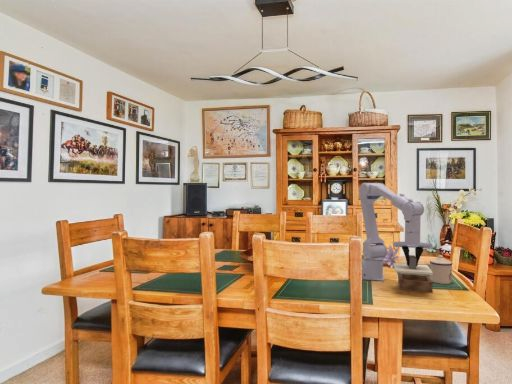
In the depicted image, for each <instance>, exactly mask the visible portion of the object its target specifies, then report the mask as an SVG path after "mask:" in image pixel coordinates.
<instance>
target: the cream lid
mask: <svg viewBox="0 0 512 384" xmlns="http://www.w3.org/2000/svg"><path fill="white" fill-rule="evenodd" d="M393 268H394V271H395V273H404V274H416V275H428V276H430V275H433V272H432V271H431V269H430V266H428V264H418V266H416V257H415V254H414V255H412V254H409V266H407V263H403V262H402V263H401V262H400V263H399V262H396V263H394V266H393Z"/></svg>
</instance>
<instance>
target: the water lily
mask: <svg viewBox="0 0 512 384" xmlns="http://www.w3.org/2000/svg"><path fill="white" fill-rule="evenodd" d="M399 250H400V247H396V248H395V250H394V249H393V246H392V245H391V244H389V246H388V250H387V255H386V257H384V259H383V265H384V264H386V263H387V265H388V266H389V267H390V268H391V269H393V268H394V263H397V262H396V261H395V260H398V259H399V258H400V257H399V255H397V254H398V252H399Z"/></svg>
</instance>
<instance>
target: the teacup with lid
mask: <svg viewBox="0 0 512 384" xmlns="http://www.w3.org/2000/svg"><path fill="white" fill-rule="evenodd" d="M452 265H453V261H451V260H449V259H447V258H445V257H444V255H442V254H440V255H439V254H438V256H437V257H435V258H432V259H430V260H429V268H430V269H431V271H432V272H433V275H429V278H430V279H431V281H432V282H433V283H434V284H441V285H446V284H447V285H449V284H451V283H452V277H453V275H452V274H453V273H452V270H453V269H452V268H453V267H452Z"/></svg>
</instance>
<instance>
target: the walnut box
mask: <svg viewBox="0 0 512 384" xmlns="http://www.w3.org/2000/svg"><path fill="white" fill-rule="evenodd" d="M397 273H398V278H397V279H398V281H397V283H398V286H399V290H401V291H402V290H403V291H413V292H422V293H423V292H424V293H433V287H434V286H433V283H434V282H432V281H431V279H430V275H429V274H415V273H401V272H397Z"/></svg>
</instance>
